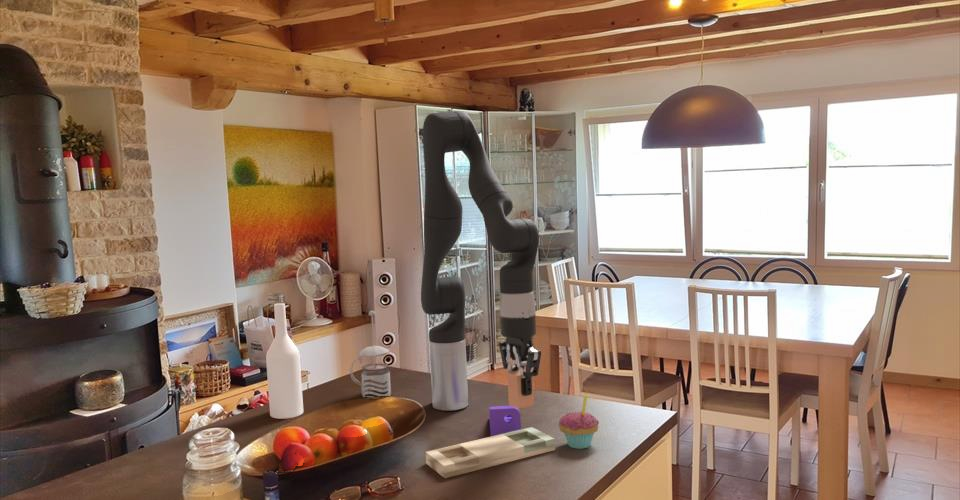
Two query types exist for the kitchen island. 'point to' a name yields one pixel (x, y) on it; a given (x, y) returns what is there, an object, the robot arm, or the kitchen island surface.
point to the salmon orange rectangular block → (518, 391)
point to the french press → (374, 370)
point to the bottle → (283, 371)
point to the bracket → (504, 419)
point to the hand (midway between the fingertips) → (521, 392)
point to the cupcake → (579, 427)
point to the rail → (489, 451)
